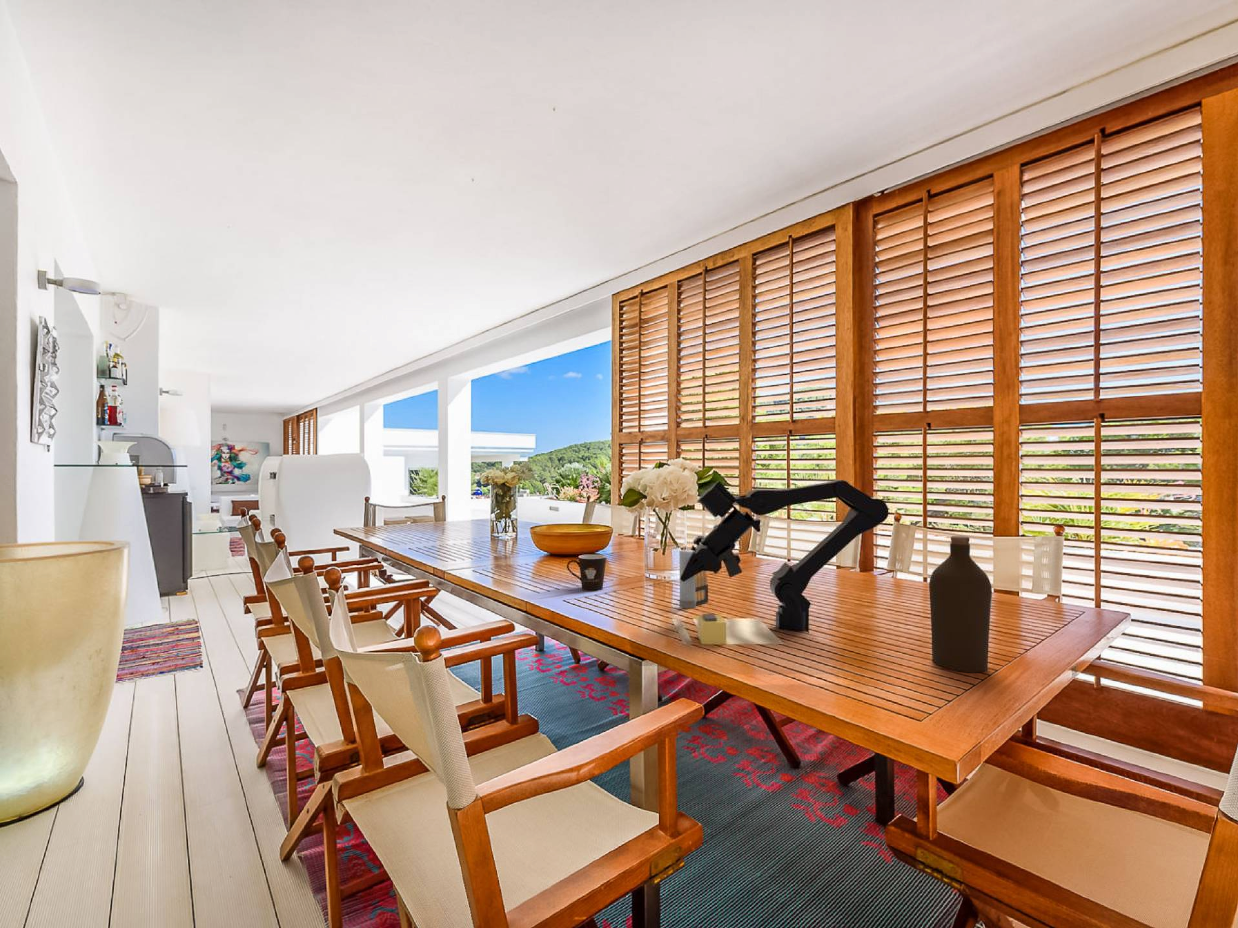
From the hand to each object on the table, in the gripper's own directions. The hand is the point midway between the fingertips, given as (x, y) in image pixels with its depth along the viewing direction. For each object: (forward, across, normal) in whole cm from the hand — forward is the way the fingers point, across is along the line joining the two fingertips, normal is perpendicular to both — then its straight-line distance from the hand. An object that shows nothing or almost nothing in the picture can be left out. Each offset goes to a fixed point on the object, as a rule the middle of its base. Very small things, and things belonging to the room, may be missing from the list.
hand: (681, 578), depth 138 cm
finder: (+3, -12, -12) cm, 17 cm away
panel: (+2, -4, -15) cm, 16 cm away
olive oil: (-29, -18, -47) cm, 58 cm away
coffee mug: (+30, +43, +11) cm, 53 cm away
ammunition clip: (+6, +25, -12) cm, 29 cm away
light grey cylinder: (+4, 0, -6) cm, 7 cm away
